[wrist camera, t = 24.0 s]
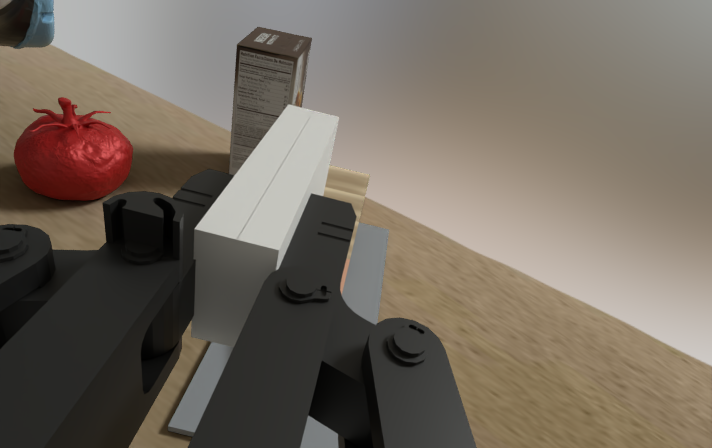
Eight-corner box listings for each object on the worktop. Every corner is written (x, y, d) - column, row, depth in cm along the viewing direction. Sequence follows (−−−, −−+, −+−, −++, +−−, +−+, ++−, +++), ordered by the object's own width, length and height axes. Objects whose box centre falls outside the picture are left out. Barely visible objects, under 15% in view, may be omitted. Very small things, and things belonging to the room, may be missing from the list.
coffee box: (245, 153, 62) (257, 24, 54) (294, 163, 63) (313, 37, 54) (226, 186, 55) (235, 42, 46) (281, 198, 55) (301, 57, 46)
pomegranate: (106, 223, 45) (98, 133, 40) (-3, 200, 45) (-26, 106, 39) (149, 173, 54) (147, 94, 48) (58, 154, 53) (45, 71, 48)
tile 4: (352, 247, 46) (370, 175, 52) (301, 235, 46) (325, 164, 52) (350, 256, 47) (367, 184, 54) (300, 244, 47) (324, 174, 54)
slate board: (168, 430, 30) (167, 426, 29) (283, 207, 53) (283, 204, 53) (356, 476, 30) (358, 472, 29) (387, 233, 53) (389, 229, 53)
